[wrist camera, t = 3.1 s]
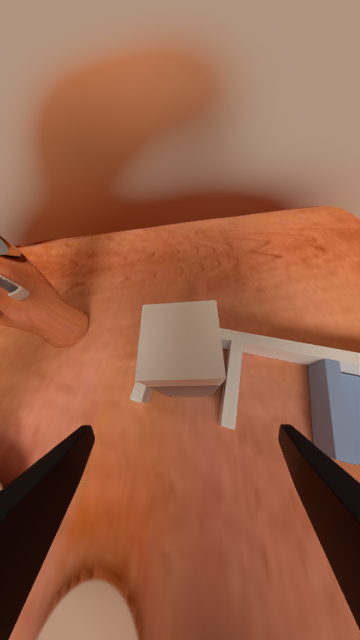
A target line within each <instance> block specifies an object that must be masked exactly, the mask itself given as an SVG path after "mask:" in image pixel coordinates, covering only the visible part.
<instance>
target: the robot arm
mask: <svg viewBox="0 0 360 640" xmlns="http://www.w3.org/2000/svg"><path fill="white" fill-rule="evenodd" d="M94 441H95V436H94V433H93V430H92V427H91V426H90V425H82V426H81V427H79V428H78V429H77V430H76V431H74V432H73V433H72V434H71V435H69V436H68V437H67V438H66V439H64V440H63V441H62V442H61V443H59V444H58V445H57V446H56V447H54V448H53V449H52V450H51V451H49V452H48V453H47V454H46V455H44V456H43V457H42V458H41V459H39V460H38V461H37V462H36V463H34V464H33V465H32V466H31V467H29V468H28V469H27V470H26V471H24V472H23V473H22V474H21V475H19V476H18V477H17V478H16V479H14V480H13V481H12V482H11V483H9V484H8V485H7V486H6V487H4V488H3V489H2V490H1V491H0V640H8V639H9V637H10V635H11V633H12V631H13V628H14V626H15V624H16V622H17V620H18V617H19V615H20V613H21V611H22V609H23V606H24V604H25V602H26V600H27V598H28V595H29V593H30V591H31V589H32V586H33V584H34V582H35V580H36V578H37V575H38V573H39V571H40V569H41V567H42V564H43V562H44V560H45V558H46V556H47V553H48V551H49V549H50V547H51V544H52V542H53V540H54V538H55V536H56V533H57V531H58V529H59V527H60V525H61V522H62V520H63V518H64V516H65V514H66V511H67V509H68V507H69V505H70V503H71V500H72V498H73V496H74V494H75V491H76V489H77V487H78V485H79V482H80V480H81V478H82V475H83V472H84V470H85V467H86V464H87V461H88V458H89V456H90V453H91V450H92V447H93V445H94ZM279 444H280V446H281V449H282V452H283V455H284V458H285V461H286V463H287V466H288V469H289V472H290V475H291V477H292V480H293V483H294V485H295V488H296V490H297V492H298V495H299V497H300V499H301V501H302V504H303V506H304V508H305V510H306V512H307V515H308V517H309V519H310V521H311V523H312V526H313V528H314V530H315V532H316V535H317V537H318V539H319V541H320V543H321V546H322V548H323V550H324V552H325V554H326V557H327V559H328V561H329V563H330V565H331V568H332V570H333V572H334V574H335V577H336V579H337V581H338V583H339V585H340V588H341V590H342V592H343V594H344V596H345V599H346V601H347V603H348V605H349V608H350V610H351V612H352V614H353V616H354V619H355V621H356V623H357V625H358V627H359V630H360V483H359V482H358V481H357V480H355V479H354V478H353V477H352V476H351V475H350V474H348V473H347V472H346V471H345V470H344V469H342V468H341V467H340V466H339V465H338V464H337V463H335V462H334V461H333V460H332V459H331V458H329V457H328V456H327V455H326V454H325V453H324V452H322V451H321V450H320V449H319V448H318V447H317V446H315V445H314V444H313V443H312V442H311V441H309V440H308V439H307V438H306V437H305V436H304V435H302V434H301V433H300V432H299V431H298V430H296V429H295V428H294V427H293V426H292V425H290V424H281V425H280V429H279Z"/></svg>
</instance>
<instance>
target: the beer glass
mask: <svg viewBox="0 0 360 640" xmlns="http://www.w3.org/2000/svg"><path fill="white" fill-rule="evenodd" d="M0 325H2V326H6V327H10V328H14V329H18V330H22V331H26V332H29V333H32V334H34V335H36V336H38V337H40V338H41V339H43V340H44V341H45V342H47V343H48V344H49V345H51V346H53V347H55V348H66V347H69V346H72V345H73V344H75V343H77V342H78V341H79V340H80V339H81V338H82V337H83V336H84V334H85V333H86V331H87V329H88V325H89V320H88V317H87V315H86V313H85V312H83V311H82V310H80V309H78V308H76V307H74V306H72V305H71V304H69V303H68V302H66V301H65V300H64V299H63V298H62V297H61V296H60V294H59V293H58V292H57V291H56V290H55V288H54V287H53V286H52V285H51V283H50V282H49V281H48V280H47V279H46V277H45V276H44V275H43V274H42V273H41V272H40V270H39V269H38V268H37V267H36V266H35V265H34V264H33V263H32V262H31V261H30V260H29V259H28V258H27V257H26V256H24V255H23V254H22V253H21V252H20V251H19V250H18V249H16V248H15V247H14V246H13V245H12V244H10V243H9V242H8V241H7V240H5V239H4V238H3V237H2V236H0Z"/></svg>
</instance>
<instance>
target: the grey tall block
mask: <svg viewBox="0 0 360 640" xmlns="http://www.w3.org/2000/svg"><path fill="white" fill-rule="evenodd" d="M225 379H226V373H225V366H224V358H223V350H222V342H221V334H220V326H219V318H218V310H217V303H216V300H208V301H193V302H178V303H163V304H147V305H143V307H142V316H141V326H140V335H139V345H138V355H137V364H136V374H135V381H136V382H138V383H141V384H143V385H145V386H147V387H150V388H152V389H154V390H156V391H158V392H161V393H163V394H165V395H167V396H170V397H200V396H212V395H213V394H214V393H215V392H216V390H217V389H218V388H219V387H220V385H221V384H222V383H223V382H224V380H225Z"/></svg>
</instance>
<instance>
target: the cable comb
mask: <svg viewBox="0 0 360 640" xmlns="http://www.w3.org/2000/svg"><path fill="white" fill-rule="evenodd" d="M220 334H221V342H222V348H224V349H228V352H227V359H226V366H225V373H226V379H225V380H224V382H223V389H222V396H221V403H220V411H219V418H218V424H219V425H220V426H223V427H226V428H229V429H233V430H235V426H236V415H237V405H238V395H239V384H240V374H241V364H242V353H243V352H244V353H249V354H254V355H258V356H263V357H268V358H273V359H278V360H283V361H288V362H293V363H298V364H303V365H308V375H309V390H310V405H311V419H312V434H313V444H314V445H315V446H317V447H318V448H319V449H320V450H321V451H322V452H324V453H325V454H326V455H327V456H328V457H330V458H333V459H336V460H339V461H343V462H346V463H350V464H353V465H355V464H358V465H360V377H358V376H360V353H357V352H351V351H346V350H340V349H334V348H329V347H323V346H318V345H312V344H307V343H301V342H295V341H290V340H284V339H279V338H273V337H267V336H262V335H256V334H251V333H245V332H239V331H234V330H228V329H223V328H220ZM341 372H343V373H348V374H353V375H358V376H353V375H348V374H343V373H341ZM152 393H153V389H152V388H150V387H147V386H145V385H143V384H141V383H138V382H135V385H134V388H133V391H132V394H131V397H130V400H133V401H137V402H140V403H147V404H149V403H150V399H151V396H152ZM354 463H355V464H354Z"/></svg>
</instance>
